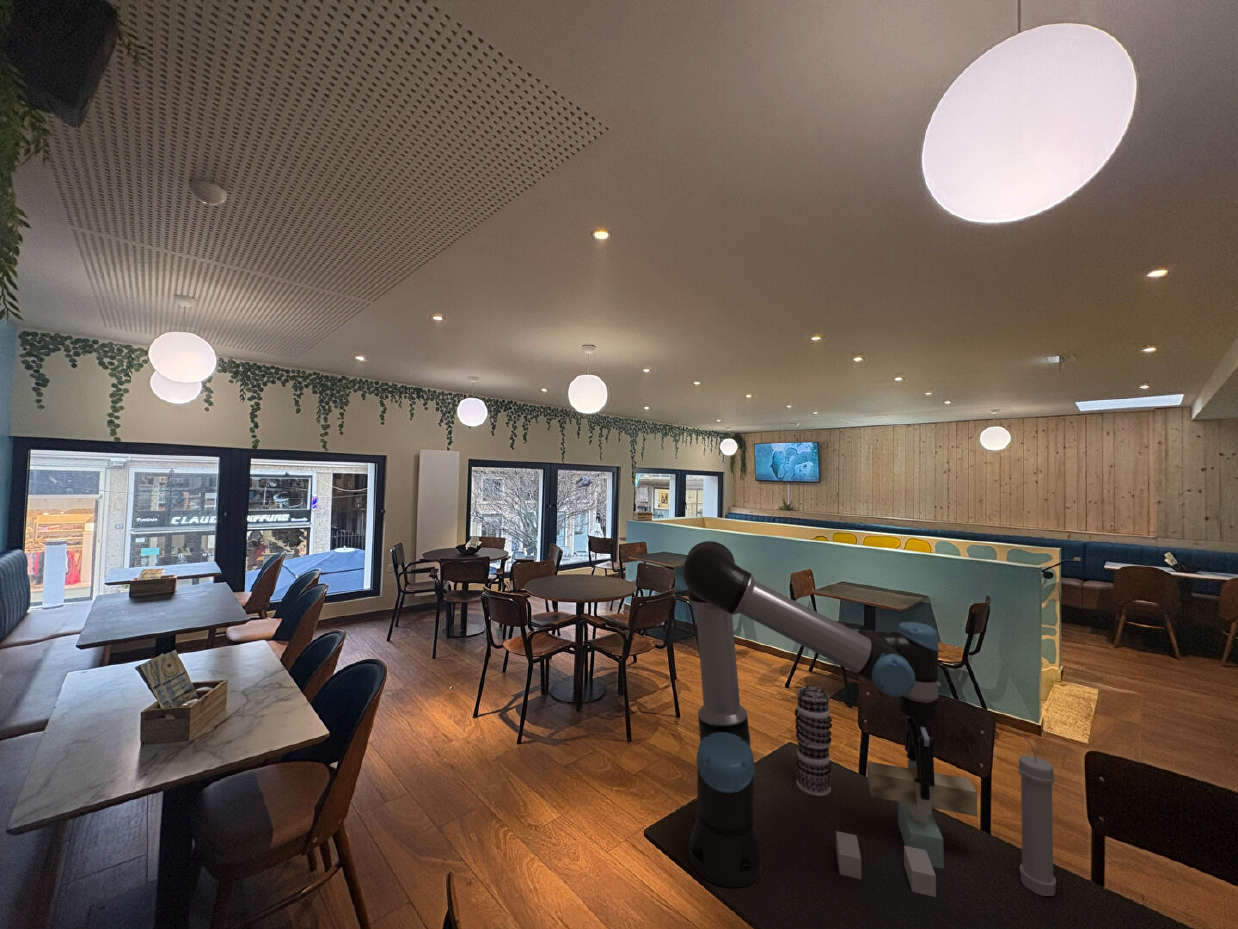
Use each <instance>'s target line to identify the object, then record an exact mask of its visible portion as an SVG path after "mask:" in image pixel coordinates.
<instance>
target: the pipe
mask: <svg viewBox="0 0 1238 929" xmlns="http://www.w3.org/2000/svg"><path fill="white" fill-rule="evenodd" d="M1015 732H1016V733H1017V734H1018V735H1020V736H1021V737H1022V738H1024V739H1025V741H1026V743H1028V745H1029V746H1030V747H1031V750H1032V752H1033V755H1034V756H1033V755H1020V756H1019V758H1018V772H1019V773H1020V785H1021V786H1020V787H1021V788H1020V792H1021V794H1020V795H1021V797H1020V798H1021V804H1020V805H1021V861H1022V862H1021V864H1020V865H1019V871H1020V872H1019V873H1020V880H1021V883H1022V885H1023V886H1025V887H1026V888H1027V889H1028V890H1030V891H1031V892H1032V893H1035V894H1037V895H1039V896H1042V897H1045V896H1052V897H1053V896H1055V894H1056V885H1057V879H1056V877H1055V875H1054V844H1053V843H1054V839H1053V836H1054V835H1053V783H1054V782H1055V780H1056V779H1055V776H1054V767H1053V764H1051V763H1050V762H1049V761H1046V760H1045V759H1042V758H1040V757H1038V756H1037V755H1036V753H1035V750H1034V747H1033V746H1032V744H1031V742H1030V741H1029V740H1028V738H1027V737H1025V736H1024V735H1023V734H1022V733H1021V732H1019V731H1018V730H1015Z"/></svg>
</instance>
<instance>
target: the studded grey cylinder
mask: <svg viewBox="0 0 1238 929" xmlns="http://www.w3.org/2000/svg"><path fill="white" fill-rule="evenodd" d="M796 694H797V705H796V707H795V709H794V716H795V719H794V720H795V727H794V728H795V729H796V732H795V738H796V740H797V750H796V751H797V753H796V756H795V758H796V762H795V764H796V769H795V773H796V776H795V778H796V782H795V783H796V785H797V787H798V788H799V789H800V790H801V791H802V792H803V793H806V794H808V795H811V796H816V797H824V796H828V795H829V794H830V793H831V790H832V787H831V786H832V785H831V784H832V781H831V780H832V774H831V771H832V768H831V766H832V761H831V760H830V753H829V752H830V747H831V742H832V737H830V736H832V731H831V729H832V727H833V724H832V723H831V722H832V721H833V719H832V717H831V716H830V707H829V704H830V702H829V700H830V699H831V697H830V695H829V694H828V693H827V692H826V691H825V689H823V688H822V687H820V686H818V685H813V684H806V685H804V686H802V687H801V688H800V689H798V690H797V691H796Z"/></svg>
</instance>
